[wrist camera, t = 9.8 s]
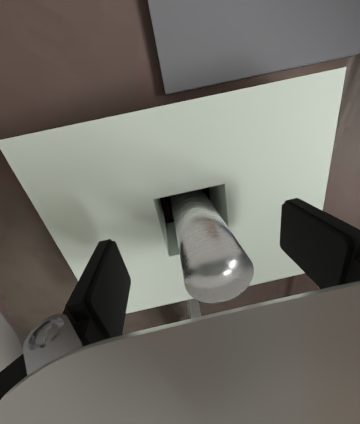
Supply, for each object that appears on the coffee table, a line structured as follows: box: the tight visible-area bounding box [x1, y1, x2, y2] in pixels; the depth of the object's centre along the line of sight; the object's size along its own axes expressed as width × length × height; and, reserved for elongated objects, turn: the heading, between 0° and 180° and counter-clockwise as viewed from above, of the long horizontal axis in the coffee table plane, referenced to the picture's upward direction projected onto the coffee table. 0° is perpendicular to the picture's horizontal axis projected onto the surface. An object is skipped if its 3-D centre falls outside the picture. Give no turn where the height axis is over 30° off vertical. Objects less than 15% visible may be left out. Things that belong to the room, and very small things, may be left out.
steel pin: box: [170, 189, 254, 303], centre depth 12 cm, size 3×3×10 cm
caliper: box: [186, 298, 201, 319], centre depth 23 cm, size 20×1×6 cm, turn 1°
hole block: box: [0, 67, 346, 314], centre depth 15 cm, size 18×14×5 cm
